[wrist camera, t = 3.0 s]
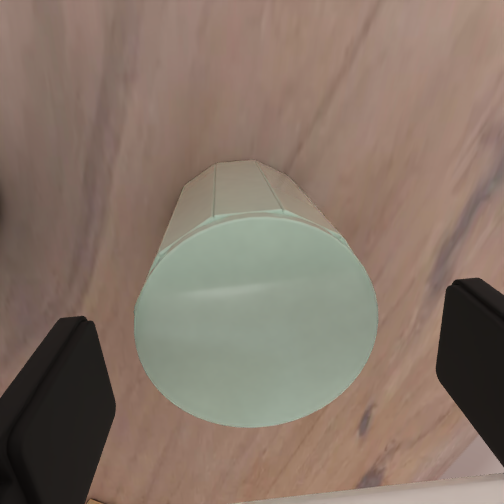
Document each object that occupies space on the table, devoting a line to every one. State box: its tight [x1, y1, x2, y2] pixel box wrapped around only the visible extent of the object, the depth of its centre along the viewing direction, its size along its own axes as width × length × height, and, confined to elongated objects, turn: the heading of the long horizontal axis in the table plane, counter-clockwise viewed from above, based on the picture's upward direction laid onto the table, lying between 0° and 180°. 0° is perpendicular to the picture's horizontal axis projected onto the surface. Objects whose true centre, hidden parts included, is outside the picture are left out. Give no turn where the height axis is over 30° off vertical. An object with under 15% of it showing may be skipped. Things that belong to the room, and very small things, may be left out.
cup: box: [134, 160, 378, 428], centre depth 15 cm, size 7×7×10 cm
